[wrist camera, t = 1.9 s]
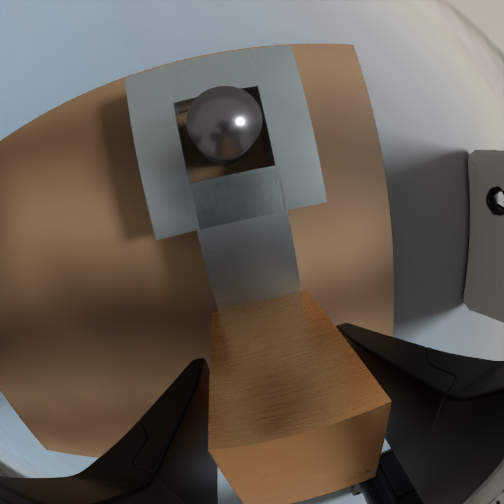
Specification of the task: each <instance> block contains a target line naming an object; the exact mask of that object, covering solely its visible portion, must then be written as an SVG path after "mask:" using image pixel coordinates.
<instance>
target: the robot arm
mask: <svg viewBox="0 0 504 504" xmlns="http://www.w3.org/2000/svg"><path fill="white" fill-rule="evenodd" d="M336 328H337V329H338V330H339V331H340V333H341V334H342V335H343V337H344V338H345V339H346V341H347V342H348V343H349V345H350V346H351V347H352V349H353V350H354V351H355V352H356V354H357V355H358V356H359V358H360V359H361V360H362V362H363V363H364V364H365V366H366V367H367V368H368V370H369V371H370V372H371V374H372V375H373V376H374V378H375V379H376V380H377V382H378V383H379V385H380V386H381V387H382V389H383V390H384V391H385V393H386V394H387V395H388V397H389V398H390V399H391V401H392V402H391V408H390V414H389V419H388V424H387V429H386V434H385V439H386V441H387V442H388V444H389V445H390V447H391V449H392V450H393V452H392V453H389V454H387V455H385V456H383V457H381V458H380V459H379V463H378V467H377V470H376V474H375V477H373V478H370V479H368V480H365V481H363V482H360V483H358V484H355V485H353V488H352V494H353V495H354V496H355V495H358V494H361V493H363V495H364V497H365V499H366V502H367V504H504V361H492V360H485V359H479V358H473V357H467V356H461V355H456V354H451V353H447V352H443V351H439V350H435V349H432V348H428V347H427V348H426V347H424V346H421V345H418V344H414V343H411V342H407V341H404V340H401V339H398V338H394V337H391V336H388V335H384V334H381V333H378V332H375V331H372V330H369V329H365V328H362V327H359V326H356V325H353V324H350V323H343V324H340V325H337V326H336ZM209 377H210V370H209V367H208V364H207V362H206V360H205V359H204V358H200V359H194V360H192V361H191V362H190V363H189V364H188V366H187V367H186V368H185V369H184V370H183V371H182V372H181V374H180V375H179V376H178V377H177V378H176V379H175V380H174V382H173V383H172V384H171V385H170V386H169V387H168V388H167V389H166V391H165V392H164V393H163V394H162V395H161V396H160V397H159V398H158V400H157V401H156V402H155V403H154V404H153V405H152V406H151V407H150V408H149V410H148V411H147V412H146V413H145V414H144V415H143V416H142V417H141V418H140V419H139V421H138V422H137V423H136V424H135V425H134V426H133V427H132V428H131V429H130V430H129V431H128V432H127V433H126V434H125V435H124V436H123V437H122V438H121V439H120V440H119V441H118V442H117V443H116V444H115V445H114V446H112V447H111V448H110V449H109V450H108V451H107V452H105V453H104V454H103V455H102V456H101V457H100V458H98V459H97V460H96V461H95V462H94V463H92V464H91V465H90V466H89V467H88V468H86V469H85V470H84V471H82V472H80V473H78V474H76V475H73V476H69V477H59V478H11V477H3V476H0V504H218V497H217V464H216V463H215V461H214V459H213V458H212V456H211V454H210V453H209V451H208V427H209Z"/></svg>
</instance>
